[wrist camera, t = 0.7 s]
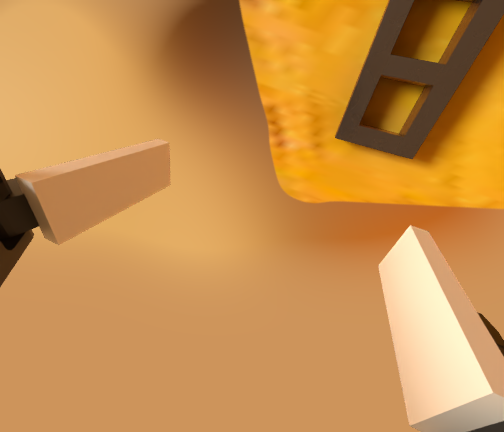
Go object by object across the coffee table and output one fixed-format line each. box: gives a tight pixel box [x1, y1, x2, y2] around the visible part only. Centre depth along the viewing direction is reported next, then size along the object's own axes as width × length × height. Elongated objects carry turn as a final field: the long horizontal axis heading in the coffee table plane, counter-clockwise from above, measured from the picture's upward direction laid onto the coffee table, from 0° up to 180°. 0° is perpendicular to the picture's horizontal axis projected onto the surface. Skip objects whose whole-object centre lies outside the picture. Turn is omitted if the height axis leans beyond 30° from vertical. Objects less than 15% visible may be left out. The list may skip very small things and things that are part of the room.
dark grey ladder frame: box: [335, 0, 504, 159], centre depth 22 cm, size 25×10×3 cm, turn 166°
